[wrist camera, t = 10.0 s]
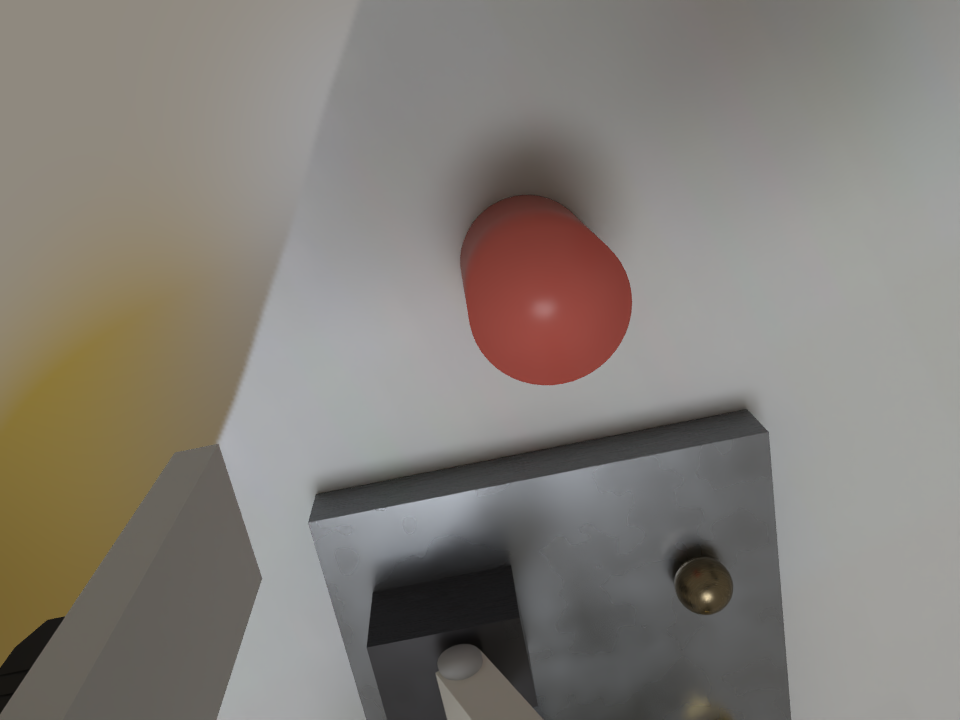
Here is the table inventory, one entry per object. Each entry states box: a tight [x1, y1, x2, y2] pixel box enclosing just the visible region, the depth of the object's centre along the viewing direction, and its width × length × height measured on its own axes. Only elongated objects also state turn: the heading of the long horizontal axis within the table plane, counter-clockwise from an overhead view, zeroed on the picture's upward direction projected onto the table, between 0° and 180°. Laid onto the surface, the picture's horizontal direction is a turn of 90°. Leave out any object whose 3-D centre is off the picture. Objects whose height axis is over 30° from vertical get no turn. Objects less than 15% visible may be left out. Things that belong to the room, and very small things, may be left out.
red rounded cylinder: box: [460, 195, 632, 385], centre depth 25 cm, size 4×4×6 cm
